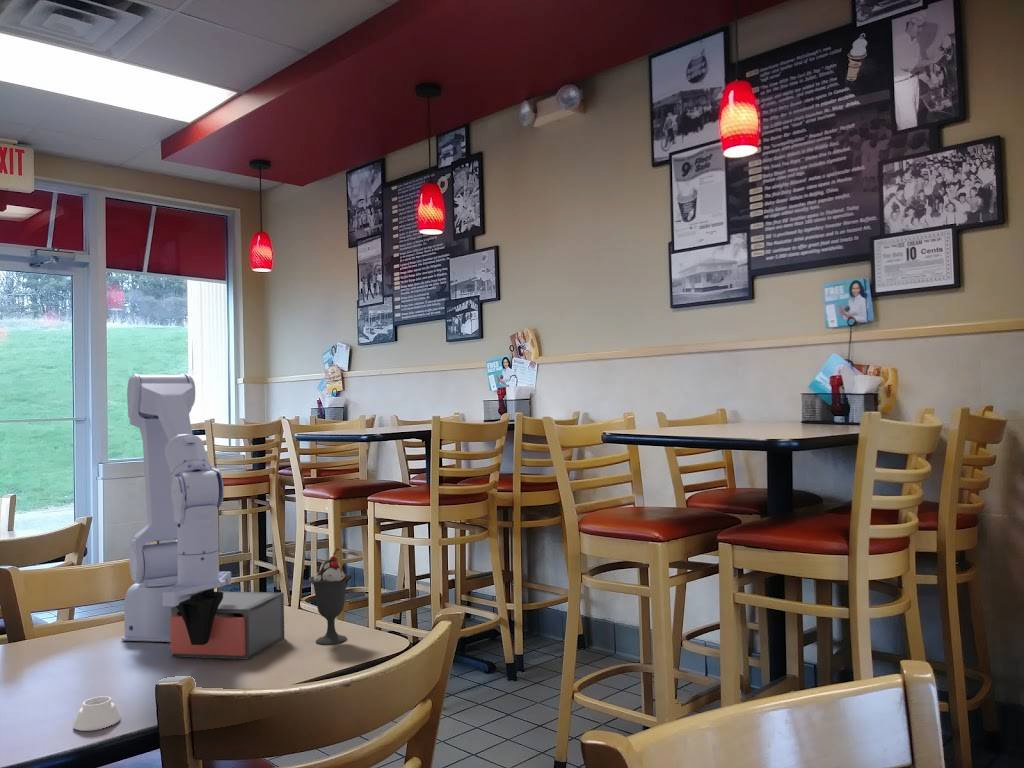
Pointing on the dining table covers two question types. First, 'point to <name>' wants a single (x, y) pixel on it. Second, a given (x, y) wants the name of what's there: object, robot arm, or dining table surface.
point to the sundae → (330, 596)
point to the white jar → (96, 714)
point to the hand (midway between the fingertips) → (199, 643)
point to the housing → (251, 620)
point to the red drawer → (222, 639)
